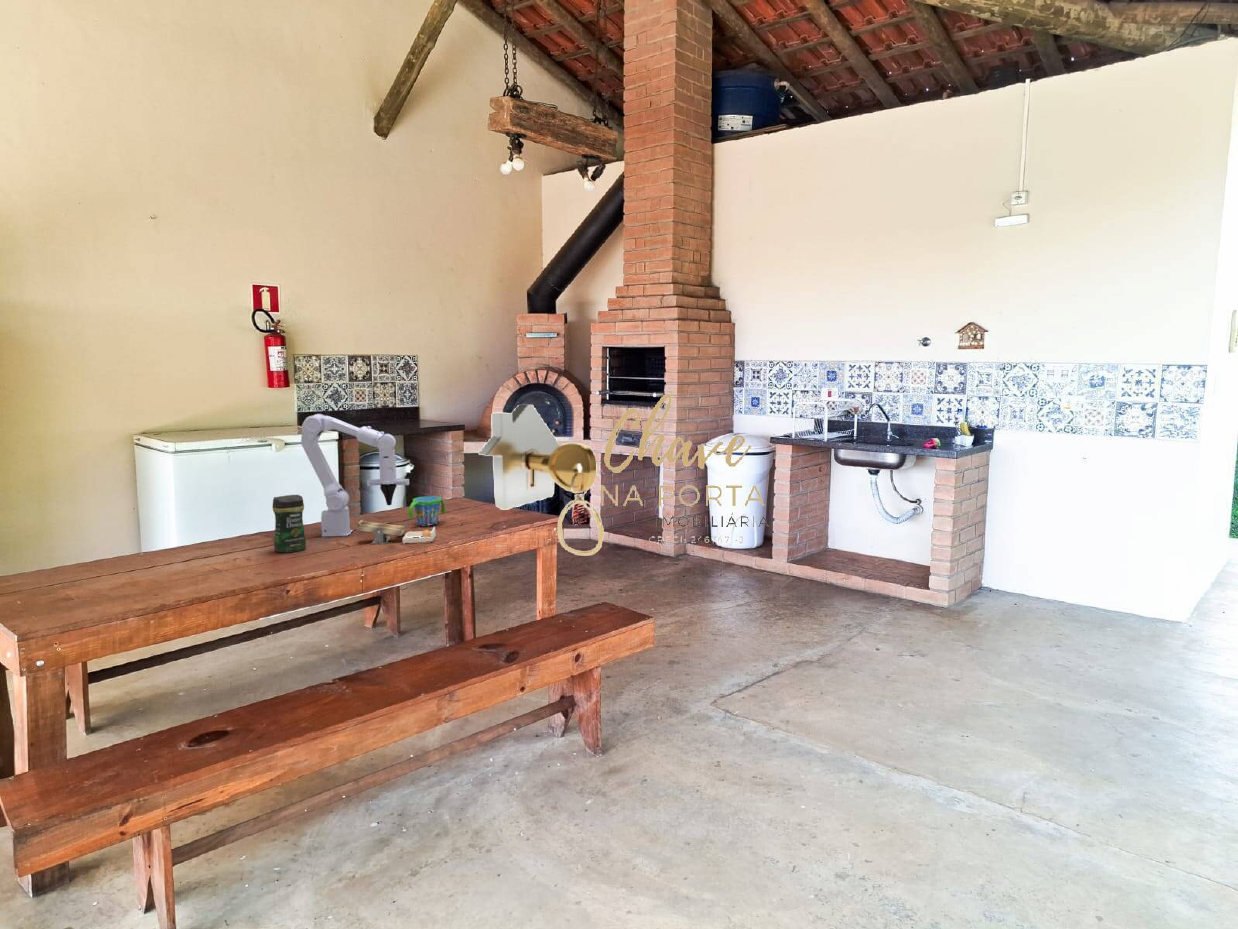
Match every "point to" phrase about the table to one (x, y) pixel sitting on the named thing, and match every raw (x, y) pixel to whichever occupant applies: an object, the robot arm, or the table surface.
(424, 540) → the dish
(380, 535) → the stand
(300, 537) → the coffee jar
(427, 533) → the ball
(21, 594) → the table surface
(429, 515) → the snack cup
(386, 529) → the lever
